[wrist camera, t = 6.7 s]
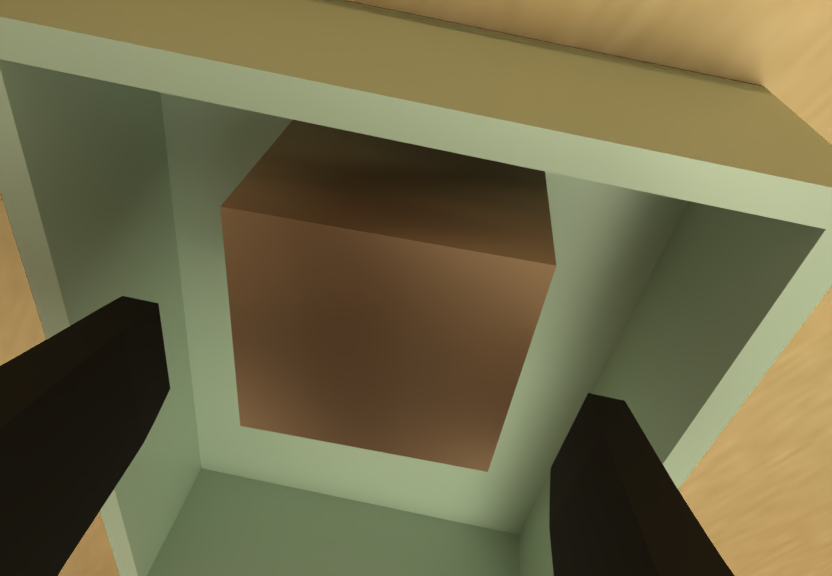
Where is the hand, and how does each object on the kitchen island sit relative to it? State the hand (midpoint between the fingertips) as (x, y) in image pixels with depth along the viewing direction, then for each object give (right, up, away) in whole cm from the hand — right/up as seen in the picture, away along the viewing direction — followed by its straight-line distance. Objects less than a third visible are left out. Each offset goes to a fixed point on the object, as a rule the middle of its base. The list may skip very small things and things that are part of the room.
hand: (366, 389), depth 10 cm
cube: (+1, +3, +4) cm, 5 cm away
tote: (0, 0, +7) cm, 7 cm away
